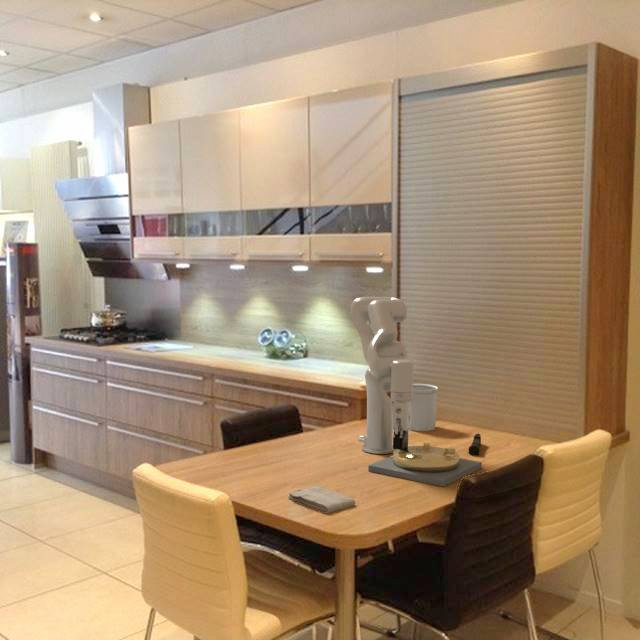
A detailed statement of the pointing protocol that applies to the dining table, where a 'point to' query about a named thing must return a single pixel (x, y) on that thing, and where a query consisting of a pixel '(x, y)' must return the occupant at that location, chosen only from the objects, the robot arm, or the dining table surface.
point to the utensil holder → (423, 407)
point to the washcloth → (321, 499)
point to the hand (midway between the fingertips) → (400, 445)
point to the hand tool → (475, 445)
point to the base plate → (434, 478)
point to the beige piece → (425, 457)
